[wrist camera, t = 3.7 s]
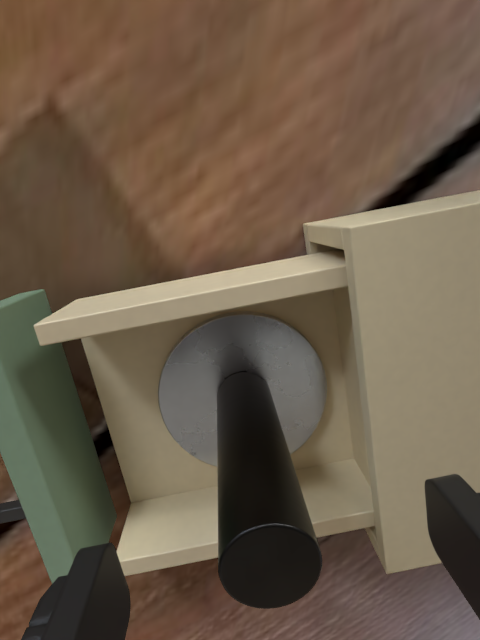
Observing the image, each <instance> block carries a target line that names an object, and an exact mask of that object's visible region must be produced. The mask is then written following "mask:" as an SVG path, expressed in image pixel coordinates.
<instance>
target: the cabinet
mask: <svg viewBox="0 0 480 640" xmlns="http://www.w3.org/2000/svg"><path fill="white" fill-rule="evenodd" d="M303 229H304V237H305V244H306V251H307V255H310V254H315V253H320V252H325V251H330V250H336V249H342V250H344V253H345V262H346V271H347V279H348V288H349V297H350V306H351V315H352V324H353V333H354V342H355V350H356V359H357V368H358V377H359V386H360V395H361V404H362V413H363V421H364V430H365V439H366V448H367V457H368V466H369V475H370V484H371V492H372V501H373V510H374V519H375V526H372V527H367V528H365V530H366V532H367V534H368V536H369V539H370V541H371V543H372V545H373V547H374V549H375V551H376V553H377V555H378V557H379V559H380V562H381V564H382V566H383V568H384V570H385V572H386V573H387V574H391V573H396V572H401V571H406V570H410V569H415V568H420V567H425V566H430V565H435V564H440V563H442V562H441V560H440V559H439V557H438V555H437V554H436V552H435V550H434V547H433V545H432V542H431V539H430V536H429V532H428V524H427V512H426V499H425V481H426V480H427V479H432V478H436V477H441V476H446V475H451V474H458V475H460V476H461V477H462V478H463V479H464V480H465V481H466V482H467V483H468V484H469V485H470V486H471V488H472V489H473V490H474V491H475V492H476V493H480V190H477V191H472V192H467V193H462V194H456V195H451V196H446V197H441V198H435V199H430V200H425V201H420V202H415V203H409V204H404V205H399V206H394V207H389V208H383V209H378V210H373V211H368V212H362V213H357V214H352V215H347V216H342V217H336V218H331V219H326V220H321V221H315V222H310V223H305V224H303Z"/></svg>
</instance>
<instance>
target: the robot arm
mask: <svg viewBox="0 0 480 640" xmlns="http://www.w3.org/2000/svg"><path fill="white" fill-rule="evenodd" d="M425 499H426V512H427V524H428V532H429V536H430V539H431V542H432V545H433V547H434V550H435V552H436V554H437V555H438V557H439V559H440V560H441V562H442V563H443V565H444V566H445V568H446V569H447V571H448V572H449V574H450V575H451V577H452V578H453V580H454V581H455V583H456V584H457V586H458V587H459V589H460V591H461V592H462V594H463V595H464V597H465V598H466V600H467V601H468V603H469V604H470V606H471V607H472V609H473V610H474V612H475V613H476V615H477V616H478V618H479V619H480V493H476V492H475V491H474V490H473V489H472V488H471V486H470V485H469V484H468V483H467V482H466V481H465V480H464V479H463V478H462V477H461V476H460V475H458V474H451V475H446V476H441V477H436V478H432V479H427V480H426V481H425ZM129 617H130V593H129V589H128V585H127V582H126V579H125V576H124V573H123V570H122V567H121V564H120V561H119V558H118V555H117V552H116V549H115V547H114V545H113V544H112V543H105V544H100V545H95V546H90V547H85V548H81V549H80V550H79V551H78V552H77V554H76V556H75V558H74V561H73V563H72V565H71V568H70V570H69V573H68V575H65V576H60V577H58V578H57V579H56V580H55V581H54V583H53V584H52V585H51V586H50V587H49V589H48V590H47V591H46V592H45V594H44V595H43V596H42V597H41V598H40V600H39V603H38V605H37V607H36V609H35V611H34V613H33V615H32V618H31V620H30V622H29V627H28V628H26V630H25V633H24V635H23V637H22V639H21V640H125V636H126V631H127V627H128V622H129Z"/></svg>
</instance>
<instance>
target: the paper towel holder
mask: <svg viewBox="0 0 480 640" xmlns="http://www.w3.org/2000/svg"><path fill="white" fill-rule="evenodd" d="M326 399H327V379H326V375H325V370H324V367H323V364H322V361H321V359H320V357H319V355H318V354H317V352H316V350H315V349H314V347H313V346H312V345H311V343H310V342H309V341H308V339H307V338H306V337H305V336H304V335H303V334H302V333H301V332H300V331H299V330H297V329H296V328H295V327H293V326H292V325H291V324H289V323H287V322H285V321H284V320H282V319H279V318H277V317H275V316H272V315H268V314H265V313H260V312H252V311H236V312H228V313H224V314H220V315H216V316H214V317H211V318H209V319H206V320H204V321H203V322H201V323H199V324H197V325H196V326H194V327H193V328H192V329H190V330H189V331H188V332H186V333H185V334H184V335H183V336H182V337H181V338H180V339H179V340H178V342H177V343H176V344H175V345H174V347H173V348H172V350H171V351H170V353H169V355H168V357H167V359H166V361H165V364H164V366H163V369H162V372H161V376H160V380H159V387H158V402H159V408H160V413H161V415H162V418H163V421H164V423H165V425H166V427H167V429H168V431H169V433H170V434H171V436H172V437H173V438H174V440H175V441H176V442H177V443H178V444H179V445H180V446H181V447H182V448H183V449H184V450H185V451H187V452H188V453H189V454H190V455H192V456H194V457H195V458H197V459H199V460H201V461H203V462H205V463H207V464H210V465H213V466H216V467H217V475H218V573H219V578H220V581H221V583H222V585H223V587H224V588H225V590H226V591H227V593H228V594H229V595H230V596H231V597H233V598H234V599H235V600H237V601H238V602H240V603H242V604H245V605H247V606H251V607H255V608H263V609H269V608H278V607H282V606H286V605H289V604H291V603H293V602H295V601H297V600H299V599H300V598H302V597H303V596H305V595H306V594H307V593H308V592H309V591H310V590H311V589H312V588H313V586H314V585H315V584H316V582H317V580H318V578H319V576H320V572H321V568H322V555H321V551H320V548H319V544H318V541H317V538H316V535H315V532H314V528H313V525H312V522H311V519H310V516H309V513H308V509H307V506H306V503H305V500H304V497H303V494H302V490H301V487H300V484H299V481H298V478H297V475H296V471H295V468H294V465H293V462H292V459H291V454H292V453H294V452H295V451H296V450H297V449H299V448H300V447H301V446H302V445H303V444H304V443H305V442H306V441H307V440H308V439H309V438H310V436H311V435H312V433H313V432H314V431H315V429H316V427H317V426H318V424H319V422H320V420H321V417H322V414H323V412H324V408H325V404H326Z"/></svg>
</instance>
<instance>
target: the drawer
mask: <svg viewBox="0 0 480 640" xmlns="http://www.w3.org/2000/svg"><path fill="white" fill-rule="evenodd" d="M236 311H252V312H260V313H265V314H268V315H272V316H275V317H277V318H279V319H282V320H284V321H285V322H287V323H289V324H291V325H292V326H293V327H295V328H296V329H297V330H299V331H300V332H301V333H302V334H303V335H304V336H305V337H306V338H307V339H308V341H309V342H310V343H311V345H312V346H313V347H314V349H315V350H316V352H317V354H318V355H319V357H320V359H321V361H322V364H323V367H324V370H325V375H326V379H327V399H326V404H325V408H324V412H323V414H322V417H321V420H320V422H319V424H318V426H317V427H316V429H315V431H314V432H313V433H312V435H311V436H310V438H309V439H308V440H307V441H306V442H305V443H304V444H303V445H302V446H301V447H300V448H299V449H297V450H296V451H295V452H294V453H292V454H291V459H292V462H293V465H294V468H295V471H296V475H297V478H298V481H299V484H300V487H301V490H302V494H303V497H304V500H305V503H306V506H307V509H308V513H309V516H310V519H311V522H312V525H313V528H314V532H315V535H316V538H318V537H323V536H327V535H332V534H337V533H342V532H347V531H352V530H357V529H362V528H367V527H372V526H375V519H374V510H373V501H372V492H371V484H370V475H369V466H368V457H367V448H366V439H365V430H364V421H363V413H362V404H361V395H360V386H359V377H358V368H357V359H356V350H355V342H354V333H353V324H352V315H351V306H350V297H349V288H348V279H347V271H346V262H345V253H344V250H342V249H336V250H330V251H325V252H320V253H315V254H310V255H304V256H299V257H294V258H289V259H284V260H278V261H273V262H268V263H263V264H258V265H252V266H247V267H242V268H237V269H232V270H227V271H221V272H216V273H211V274H206V275H201V276H195V277H190V278H185V279H180V280H175V281H169V282H164V283H159V284H154V285H149V286H143V287H138V288H133V289H128V290H123V291H117V292H112V293H107V294H102V295H97V296H92V297H86V298H81V299H77V300H75V301H73V302H71V303H70V304H68V305H67V306H65V307H63V308H62V309H60V310H58V311H56V312H55V313H53V314H52V312H51V309H50V306H49V302H48V299H47V296H46V293H45V290H44V289H40V290H35V291H30V292H25V293H19V294H17V295H14V296H12V297H9V298H7V299H4V300H1V301H0V453H1V455H2V458H3V460H4V463H5V465H6V468H7V470H8V473H9V476H10V478H11V481H12V483H13V486H14V488H15V491H16V493H17V496H18V498H19V500H16V501H11V502H6V503H1V504H0V523H5V522H10V521H15V520H20V519H25V518H26V519H27V521H28V524H29V526H30V529H31V531H32V534H33V536H34V539H35V541H36V544H37V546H38V549H39V551H40V554H41V557H42V559H43V562H44V564H45V567H46V569H47V572H48V574H49V577H50V579H51V582H52V584H53V583H54V581H55V580H56V579H57V578H58V577H60V576H65V575H68V573H69V570H70V568H71V565H72V563H73V561H74V558H75V556H76V554H77V552H78V551H79V550H80V549H81V548H85V547H90V546H95V545H100V544H105V543H108V542H109V539H110V536H111V533H112V530H113V527H114V524H115V521H116V518H117V514H116V511H115V508H114V505H113V502H112V499H111V496H110V493H109V489H108V486H107V483H106V480H105V477H104V474H103V471H102V468H101V464H100V461H99V458H98V455H97V452H96V449H95V446H94V443H93V440H92V436H91V433H90V430H89V427H88V424H87V421H86V418H85V415H84V411H83V408H82V405H81V402H80V399H79V396H78V393H77V390H76V387H75V383H74V380H73V377H72V374H71V371H70V368H69V365H68V362H67V359H66V355H65V352H64V349H63V346H62V343H61V342H65V341H71V340H76V339H81V341H82V344H83V347H84V350H85V354H86V357H87V360H88V363H89V367H90V370H91V373H92V377H93V380H94V383H95V386H96V390H97V393H98V396H99V399H100V403H101V406H102V409H103V412H104V416H105V419H106V422H107V426H108V429H109V432H110V435H111V439H112V442H113V445H114V448H115V452H116V455H117V458H118V461H119V465H120V468H121V471H122V475H123V478H124V481H125V484H126V488H127V491H128V494H129V497H130V501H131V505H130V508H129V511H128V515H127V518H126V521H125V525H124V528H123V532H122V535H121V538H120V542H119V545H118V548H117V555H118V558H119V561H120V564H121V567H122V570H123V573H124V576H129V575H134V574H139V573H144V572H149V571H153V570H158V569H163V568H168V567H173V566H178V565H183V564H188V563H193V562H198V561H203V560H208V559H213V558H218V475H217V467H216V466H213V465H210V464H207V463H205V462H203V461H201V460H199V459H197V458H195V457H194V456H192V455H190V454H189V453H188V452H187V451H185V450H184V449H183V448H182V447H181V446H180V445H179V444H178V443H177V442H176V441H175V440H174V438H173V437H172V436H171V434H170V433H169V431H168V429H167V427H166V425H165V423H164V421H163V418H162V415H161V413H160V408H159V402H158V387H159V380H160V376H161V372H162V369H163V366H164V364H165V361H166V359H167V357H168V355H169V353H170V351H171V350H172V348H173V347H174V345H175V344H176V343H177V342H178V340H179V339H180V338H181V337H182V336H183V335H184V334H185V333H186V332H188V331H189V330H190V329H192V328H193V327H194V326H196V325H197V324H199V323H201V322H203V321H204V320H206V319H209V318H211V317H214V316H216V315H220V314H224V313H228V312H236Z"/></svg>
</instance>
